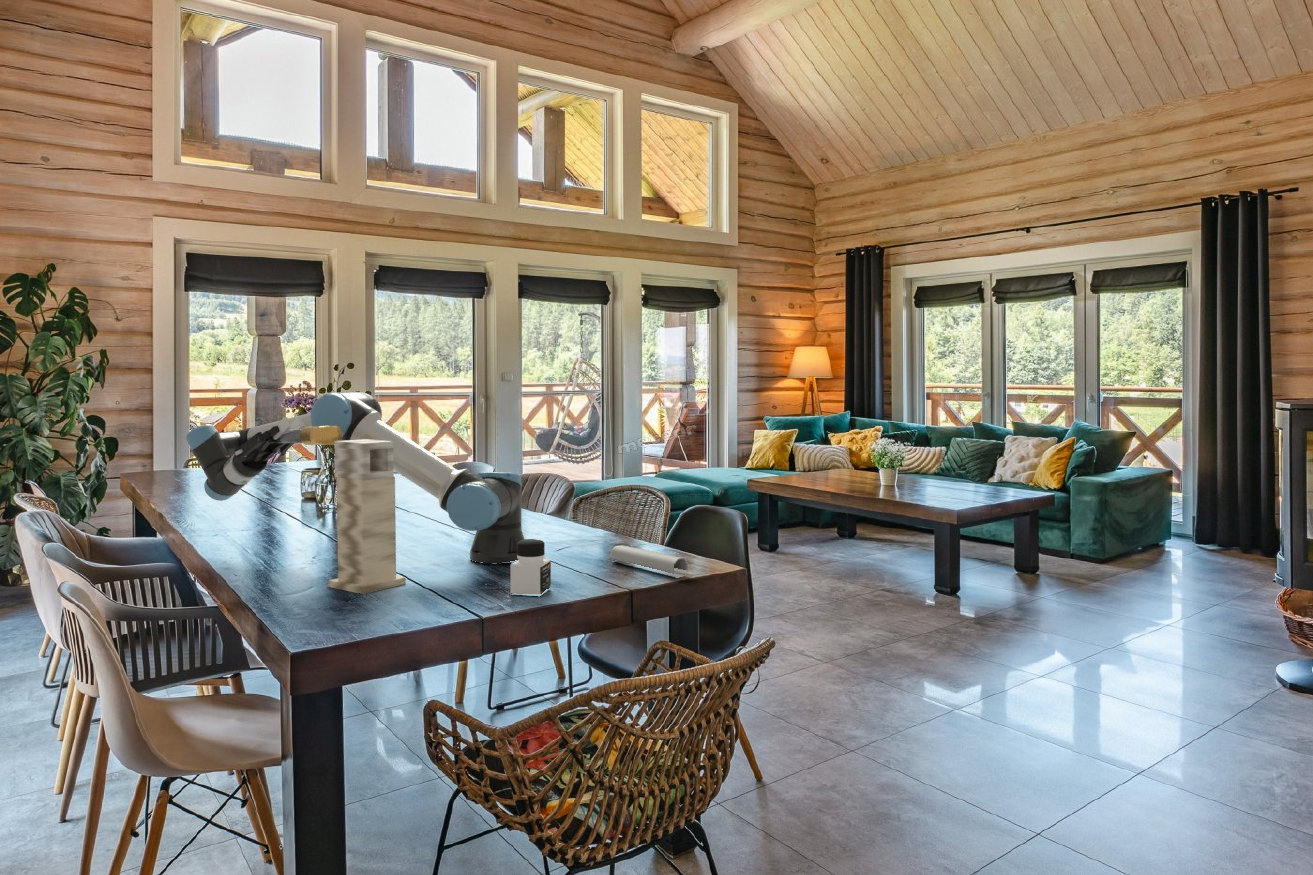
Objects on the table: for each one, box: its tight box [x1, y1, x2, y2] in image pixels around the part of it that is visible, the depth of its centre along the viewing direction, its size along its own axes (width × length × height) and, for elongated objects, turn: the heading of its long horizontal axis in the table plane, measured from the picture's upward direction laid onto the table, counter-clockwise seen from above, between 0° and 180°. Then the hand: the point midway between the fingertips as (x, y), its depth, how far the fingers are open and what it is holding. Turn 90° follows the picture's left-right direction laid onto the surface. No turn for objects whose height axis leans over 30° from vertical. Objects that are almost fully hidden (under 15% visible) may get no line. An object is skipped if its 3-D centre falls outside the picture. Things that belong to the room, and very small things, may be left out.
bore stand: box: [327, 439, 407, 595], centre depth 201 cm, size 12×12×33 cm
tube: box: [610, 544, 689, 574], centre depth 222 cm, size 5×5×25 cm
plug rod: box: [273, 426, 343, 446], centre depth 213 cm, size 26×4×4 cm, turn 57°
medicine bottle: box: [509, 538, 552, 594], centre depth 197 cm, size 7×7×12 cm
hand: (294, 421), depth 214 cm, fingers closed on plug rod, 3 cm apart
